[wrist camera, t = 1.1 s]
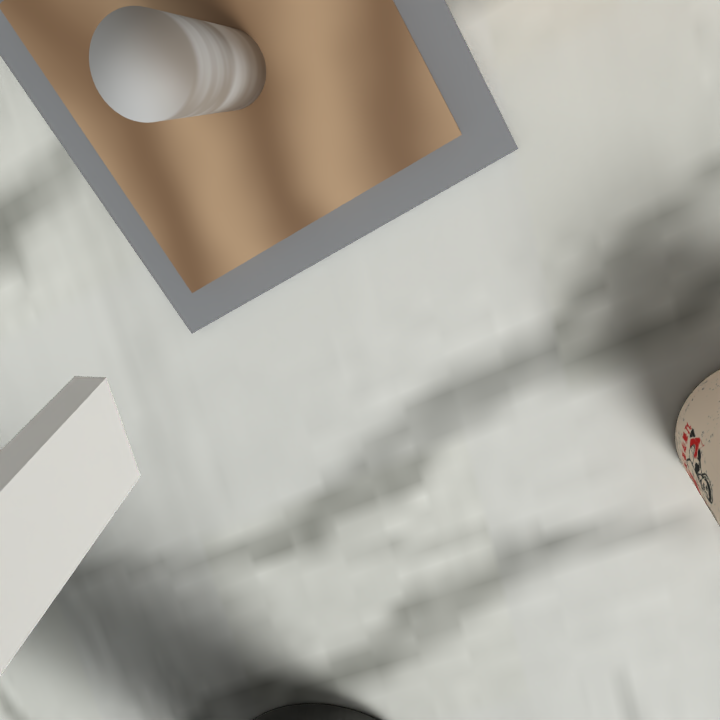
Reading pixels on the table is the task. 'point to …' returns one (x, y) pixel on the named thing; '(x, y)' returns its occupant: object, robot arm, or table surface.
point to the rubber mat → (332, 231)
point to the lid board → (238, 110)
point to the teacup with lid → (702, 440)
